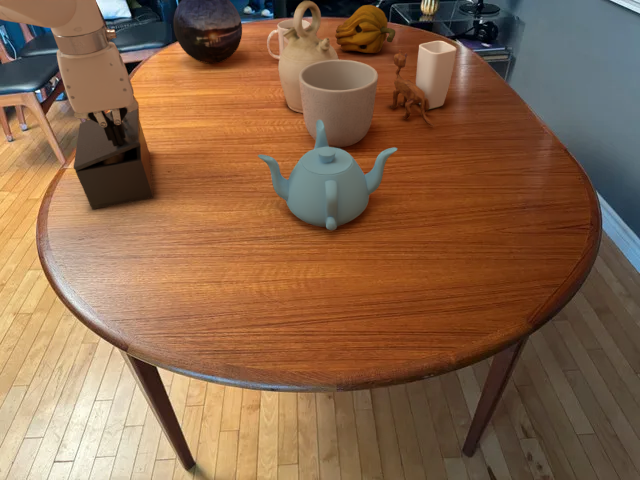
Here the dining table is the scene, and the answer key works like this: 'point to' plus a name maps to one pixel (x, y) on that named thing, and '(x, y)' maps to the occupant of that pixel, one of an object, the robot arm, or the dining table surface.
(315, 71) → the planter
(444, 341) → the dining table surface
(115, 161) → the ice cream cone
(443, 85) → the cup
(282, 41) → the mug
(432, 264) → the dining table surface
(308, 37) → the jug
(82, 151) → the bin lid
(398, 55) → the cat figurine
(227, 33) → the decorative sphere
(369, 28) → the fruit
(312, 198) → the teapot
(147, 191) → the bin
